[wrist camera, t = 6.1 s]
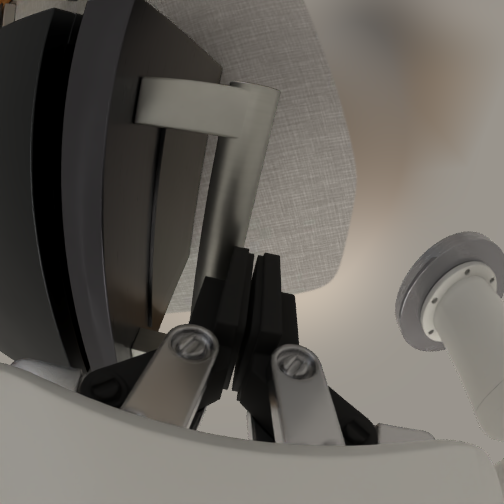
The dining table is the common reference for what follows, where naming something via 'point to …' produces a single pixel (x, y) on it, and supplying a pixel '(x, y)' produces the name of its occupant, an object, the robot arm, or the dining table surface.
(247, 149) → the oven door
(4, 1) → the bread
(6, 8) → the picture frame
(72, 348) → the oven
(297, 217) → the dining table surface
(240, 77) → the dining table surface
